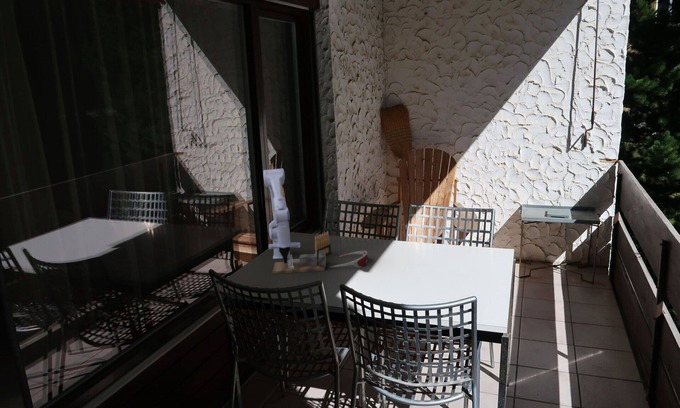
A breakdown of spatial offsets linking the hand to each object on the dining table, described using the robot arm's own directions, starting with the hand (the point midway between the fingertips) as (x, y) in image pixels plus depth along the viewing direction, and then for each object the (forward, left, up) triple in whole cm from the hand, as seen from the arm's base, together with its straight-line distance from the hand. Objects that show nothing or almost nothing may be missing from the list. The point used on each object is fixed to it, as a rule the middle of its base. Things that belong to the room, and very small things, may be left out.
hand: (285, 262), depth 260 cm
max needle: (+4, +3, -1) cm, 6 cm away
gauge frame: (0, +6, -3) cm, 7 cm away
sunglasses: (-3, +30, -3) cm, 31 cm away
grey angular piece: (+1, +6, -1) cm, 6 cm away
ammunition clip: (-14, +17, -3) cm, 22 cm away
